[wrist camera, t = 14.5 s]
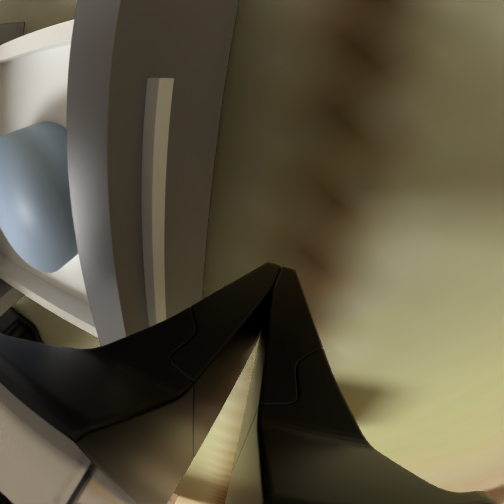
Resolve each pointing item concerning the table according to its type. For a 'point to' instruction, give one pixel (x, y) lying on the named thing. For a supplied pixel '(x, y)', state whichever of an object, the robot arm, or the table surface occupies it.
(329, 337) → the table surface
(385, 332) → the table surface
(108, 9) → the grey white drawer
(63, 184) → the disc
